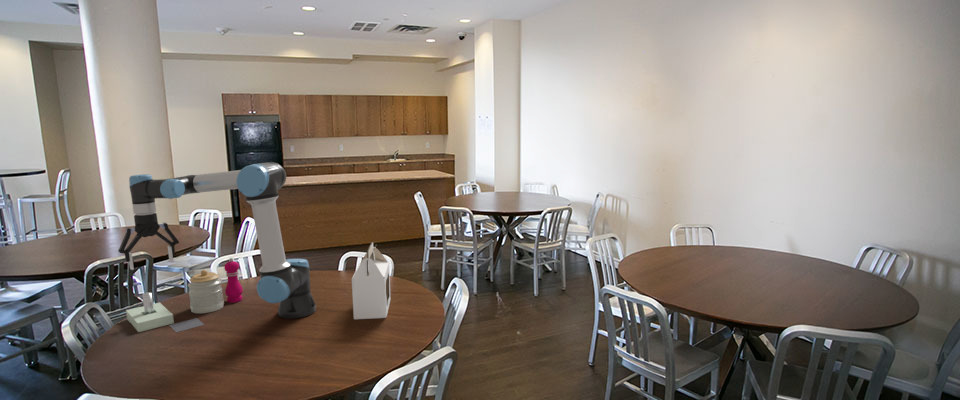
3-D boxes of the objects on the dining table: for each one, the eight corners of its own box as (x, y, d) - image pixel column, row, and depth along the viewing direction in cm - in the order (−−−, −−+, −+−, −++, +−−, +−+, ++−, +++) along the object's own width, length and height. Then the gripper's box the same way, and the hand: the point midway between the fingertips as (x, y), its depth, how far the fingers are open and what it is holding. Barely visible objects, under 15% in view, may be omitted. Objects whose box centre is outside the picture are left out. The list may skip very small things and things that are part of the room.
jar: (194, 317, 205) (190, 276, 202) (187, 308, 215) (183, 269, 212) (228, 309, 213) (224, 270, 211) (220, 301, 223) (216, 263, 220)
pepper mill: (236, 303, 220) (232, 260, 217) (222, 302, 221) (218, 259, 218) (247, 298, 227) (243, 256, 224) (233, 297, 228) (229, 255, 225)
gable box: (386, 318, 201) (383, 252, 197) (353, 319, 200) (350, 253, 196) (390, 299, 223) (388, 239, 219) (361, 300, 222) (358, 240, 218)
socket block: (174, 323, 198) (172, 314, 197) (138, 333, 189) (137, 323, 189) (160, 311, 212) (159, 302, 211) (127, 319, 203) (126, 310, 202)
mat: (204, 325, 196) (204, 324, 196) (176, 333, 189) (176, 332, 189) (196, 318, 203) (196, 317, 203) (169, 326, 196) (168, 325, 196)
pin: (156, 321, 200) (152, 293, 199) (146, 323, 198) (143, 295, 196) (153, 319, 203) (150, 291, 201) (144, 321, 200) (141, 293, 199)
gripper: (177, 208, 205) (184, 257, 209) (104, 217, 188) (112, 270, 191) (183, 209, 200) (189, 260, 204) (108, 219, 183) (116, 274, 186)
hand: (152, 265), depth 197 cm, fingers open, 13 cm apart
